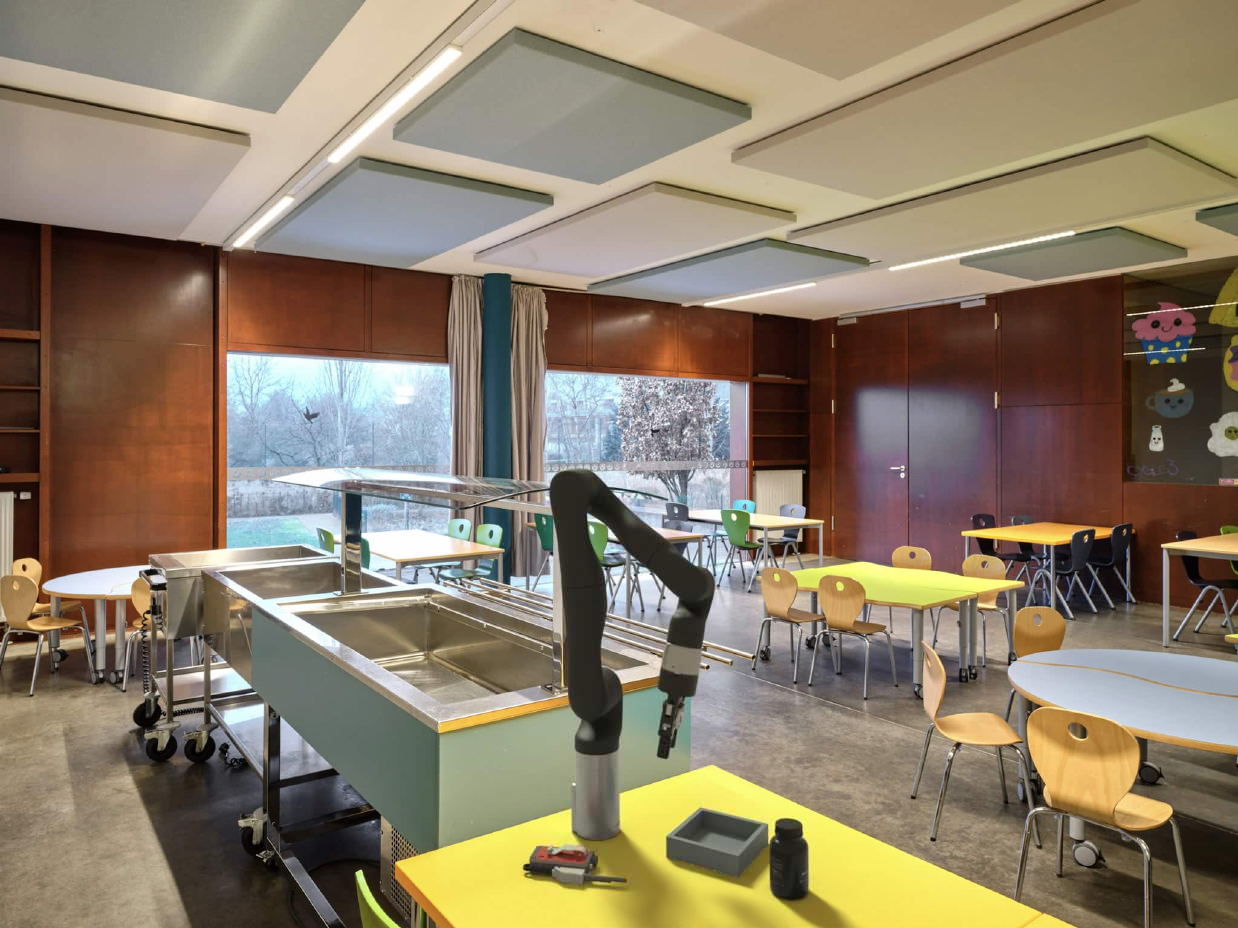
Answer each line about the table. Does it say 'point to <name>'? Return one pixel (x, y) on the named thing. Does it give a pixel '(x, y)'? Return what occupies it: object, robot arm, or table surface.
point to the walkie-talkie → (567, 864)
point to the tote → (717, 841)
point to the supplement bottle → (789, 860)
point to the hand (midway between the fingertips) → (665, 752)
